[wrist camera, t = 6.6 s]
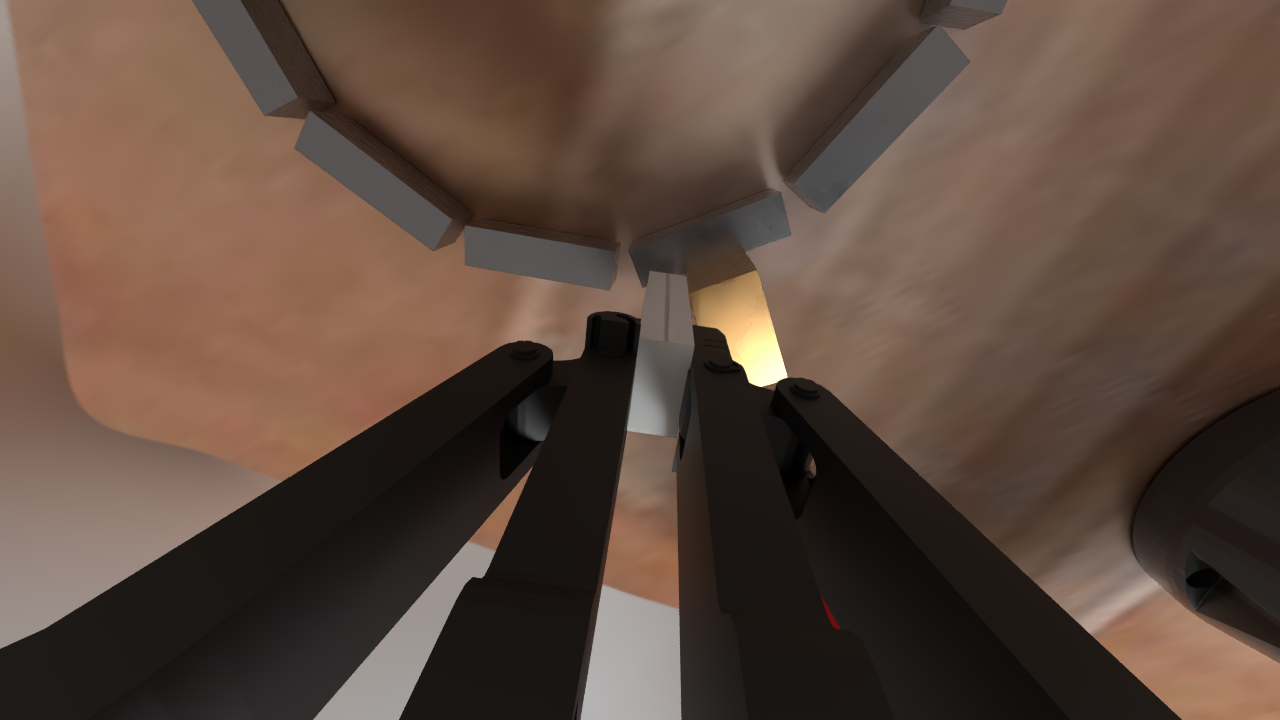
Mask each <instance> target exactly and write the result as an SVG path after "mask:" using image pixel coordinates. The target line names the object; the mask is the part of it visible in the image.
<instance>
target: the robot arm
mask: <svg viewBox="0 0 1280 720" xmlns="http://www.w3.org/2000/svg"><path fill="white" fill-rule="evenodd" d="M678 428H679V429H680V432H679V437H678V442H677V447H676V452H675V457H674V462H673V467H672V472H676V470H677V513H678V564H679V613H680V614H679V615H680V664H681V665H680V666H681V713H682V714H681V716H682V720H1182V719H1181V718H1180V717H1178V716H1177V715H1176V714H1175V713H1174V712H1173V711H1172V710H1171V709H1170V708H1169V707H1168V706H1167V705H1166V704H1164V703H1163V702H1162V701H1161V700H1160V699H1159V698H1158V697H1157V696H1156V695H1155V694H1154V693H1153V692H1152V691H1151V690H1149V689H1148V688H1147V687H1146V686H1145V685H1144V684H1143V683H1142V682H1141V681H1140V680H1139V679H1138V678H1137V677H1136V676H1134V675H1133V674H1132V673H1131V672H1130V671H1129V670H1128V669H1127V668H1126V667H1125V666H1124V665H1123V664H1122V663H1120V662H1119V661H1118V660H1117V659H1116V658H1115V657H1114V656H1113V655H1112V654H1111V653H1110V652H1109V651H1108V650H1107V649H1105V648H1104V647H1103V646H1102V645H1101V644H1100V643H1099V642H1098V641H1097V640H1096V639H1095V638H1094V637H1093V636H1092V635H1090V634H1089V633H1088V632H1087V631H1086V630H1085V629H1084V628H1083V627H1082V626H1081V625H1080V624H1079V623H1078V622H1076V621H1075V620H1074V619H1073V618H1072V617H1071V616H1070V615H1069V614H1068V613H1067V612H1066V611H1065V610H1064V609H1063V608H1061V607H1060V606H1059V605H1058V604H1057V603H1056V602H1055V601H1054V600H1053V599H1052V598H1051V597H1050V596H1049V595H1047V594H1046V593H1045V592H1044V591H1043V590H1042V589H1041V588H1040V587H1039V586H1038V585H1037V584H1036V583H1035V582H1034V581H1032V580H1031V579H1030V578H1029V577H1028V576H1027V575H1026V574H1025V573H1024V572H1023V571H1022V570H1021V569H1020V568H1019V567H1017V566H1016V565H1015V564H1014V563H1013V562H1012V561H1011V560H1010V559H1009V558H1008V557H1007V556H1006V555H1005V554H1003V553H1002V552H1001V551H1000V550H999V549H998V548H997V547H996V546H995V545H994V544H993V543H992V542H991V541H990V540H988V539H987V538H986V537H985V536H984V535H983V534H982V533H981V532H980V531H979V530H978V529H977V528H976V527H975V526H973V525H972V524H971V523H970V522H969V521H968V520H967V519H966V518H965V517H964V516H963V515H962V514H961V513H959V512H958V511H957V510H956V509H955V508H954V507H953V506H952V505H951V504H950V503H949V502H948V501H947V500H946V499H944V498H943V497H942V496H941V495H940V494H939V493H938V492H937V491H936V490H935V489H934V488H933V487H932V486H931V485H929V484H928V483H927V482H926V481H925V480H924V479H923V478H922V477H921V476H920V475H919V474H918V473H917V472H915V471H914V470H913V469H912V468H911V467H910V466H909V465H908V464H907V463H906V462H905V461H904V460H903V459H902V458H900V457H899V456H898V455H897V454H896V453H895V452H894V451H893V450H892V449H891V448H890V447H889V446H888V445H887V444H885V443H884V442H883V441H882V440H881V439H880V438H879V437H878V436H877V435H876V434H875V433H874V432H873V431H871V430H870V429H869V428H868V427H867V426H866V425H865V424H864V423H863V422H862V421H861V420H860V419H859V418H858V417H856V416H855V415H854V414H853V413H852V412H851V411H850V410H849V409H848V408H847V407H846V406H845V405H844V404H842V403H841V402H840V401H839V400H838V399H837V398H836V397H835V396H834V395H833V394H832V393H831V392H830V391H828V390H827V389H825V388H824V387H823V386H821V385H818V384H816V383H815V382H814V381H812V380H808V379H807V380H806V379H805V378H792V377H791V378H783V379H781V380H779V381H778V382H777V385H776V388H775V391H772V390H769V389H766V388H762V387H759V386H757V385H754V384H752V383H749V380H748V377H747V374H746V371H745V369H744V368H743V367H742V365H740V364H739V363H737V362H736V361H733V360H732V357H731V354H730V350H729V347H728V344H727V340H726V336H725V335H724V334H723V333H722V332H721V331H720V330H718V329H717V328H711V327H704V326H697V325H692V319H691V310H690V302H689V293H688V285H687V276H683V275H676V274H669V273H662V272H655V271H650V272H649V278H648V284H647V289H646V295H645V301H644V306H643V312H642V318H641V319H639V318H635V317H633V316H630V315H628V314H624V313H619V312H610V311H605V312H596V313H593V314H591V315H589V316H588V317H587V329H586V341H585V349H584V351H583V354H582V356H581V358H579V359H574V360H565V361H553V352H552V350H551V349H550V348H548V347H547V346H545V345H542V344H539V343H534V342H532V341H525V342H524V341H517V342H513V343H508V344H505V345H503V346H501V347H499V348H497V349H496V350H494V351H492V352H491V353H489V354H488V355H486V356H484V357H483V358H481V359H480V360H478V361H476V362H475V363H473V364H471V365H470V366H468V367H467V368H465V369H463V370H462V371H460V372H459V373H457V374H455V375H454V376H452V377H450V378H449V379H447V380H446V381H444V382H442V383H441V384H439V385H438V386H436V387H434V388H433V389H431V390H429V391H428V392H426V393H425V394H423V395H421V396H420V397H418V398H417V399H415V400H413V401H412V402H410V403H409V404H407V405H405V406H404V407H402V408H400V409H399V410H397V411H396V412H394V413H392V414H391V415H389V416H388V417H386V418H384V419H383V420H381V421H379V422H378V423H376V424H375V425H373V426H371V427H370V428H368V429H367V430H365V431H363V432H362V433H360V434H358V435H357V436H355V437H354V438H352V439H350V440H349V441H347V442H346V443H344V444H342V445H341V446H339V447H338V448H336V449H334V450H333V451H331V452H329V453H328V454H326V455H325V456H323V457H321V458H320V459H318V460H317V461H315V462H313V463H312V464H310V465H308V466H307V467H305V468H304V469H302V470H300V471H299V472H297V473H296V474H294V475H292V476H291V477H289V478H287V479H286V480H284V481H283V482H281V483H279V484H278V485H276V486H275V487H273V488H271V489H270V490H268V491H267V492H265V493H263V494H262V495H260V496H258V497H257V498H255V499H254V500H252V501H251V502H249V503H247V504H246V505H244V506H243V507H241V508H239V509H237V510H236V511H234V512H233V513H231V514H229V515H228V516H227V517H225V518H223V519H221V520H220V521H218V522H216V523H215V524H213V525H212V526H210V527H209V528H207V529H205V530H204V531H202V532H200V533H199V534H197V535H196V536H194V537H192V538H191V539H189V540H188V541H186V542H184V543H183V544H181V545H179V546H178V547H176V548H174V549H173V550H171V551H170V552H168V553H166V554H165V555H163V556H162V557H160V558H159V559H157V560H155V561H154V562H152V563H150V564H149V565H147V566H145V567H144V568H142V569H141V570H139V571H137V572H136V573H134V574H133V575H131V576H129V577H128V578H126V579H124V580H123V581H121V582H120V583H118V584H117V585H115V586H113V587H112V588H110V589H109V590H107V591H105V592H104V593H102V594H100V595H99V596H97V597H95V598H94V599H92V600H91V601H89V602H88V603H86V604H84V605H83V606H81V607H79V608H78V609H76V610H74V611H73V612H71V613H70V614H68V615H66V616H65V617H63V618H62V619H60V620H58V621H57V622H55V623H53V624H52V625H50V626H49V627H47V628H45V629H43V630H41V631H39V632H37V633H35V634H32V635H30V636H28V637H26V638H23V639H21V640H19V641H17V642H15V643H12V644H10V645H8V646H6V647H4V648H1V649H0V720H313V719H314V718H315V717H316V716H317V714H318V713H319V712H320V711H321V710H322V709H323V707H324V706H325V705H326V704H327V703H328V702H329V701H330V699H331V698H332V697H333V696H334V695H335V694H336V692H337V691H338V690H339V689H340V688H341V687H342V686H343V684H344V683H345V682H346V681H347V680H348V679H349V677H350V676H351V675H352V674H353V673H354V672H355V671H356V669H357V668H358V667H359V666H360V665H361V664H362V663H363V661H364V660H365V659H366V658H367V657H368V656H369V654H370V653H371V652H372V651H373V650H374V649H375V647H376V646H377V645H378V644H379V643H380V642H381V641H382V639H383V638H384V637H385V636H386V635H387V634H388V633H389V631H390V630H391V629H392V628H393V627H394V625H395V624H396V623H397V622H398V621H399V620H400V618H401V617H402V616H403V615H404V614H405V613H406V612H407V611H408V609H409V608H410V607H411V606H412V605H413V604H414V603H415V601H416V600H417V599H418V598H419V597H420V596H421V594H422V593H423V592H424V591H425V590H426V589H427V588H428V586H429V585H430V584H431V583H432V582H433V581H434V579H435V578H436V577H437V576H438V575H439V574H440V572H441V571H442V570H443V569H444V568H445V567H446V566H447V564H448V563H449V562H450V561H451V560H452V559H453V557H454V556H455V555H456V554H457V553H458V552H459V551H460V549H461V548H462V547H463V546H464V545H465V544H466V543H467V541H468V540H469V539H470V538H471V537H472V536H473V535H474V533H475V532H476V531H477V530H478V529H479V528H480V526H481V525H482V524H483V523H484V522H485V521H486V520H487V518H488V517H489V516H490V515H491V514H492V513H493V511H494V510H495V509H496V508H497V507H498V506H499V505H500V503H501V502H502V501H503V500H504V499H505V498H506V496H507V495H508V494H509V493H510V492H511V491H512V490H513V488H514V487H515V486H516V485H517V484H518V483H519V481H520V480H521V479H522V478H523V477H524V476H525V475H526V473H527V472H528V471H529V470H530V469H531V468H532V466H533V468H532V470H531V472H530V475H529V477H528V479H527V481H526V484H525V486H524V488H523V490H522V493H521V495H520V497H519V500H518V502H517V504H516V506H515V509H514V511H513V513H512V516H511V518H510V520H509V522H508V525H507V527H506V529H505V532H504V534H503V536H502V538H501V541H500V543H499V545H498V548H497V550H496V552H495V554H494V557H493V559H492V562H491V564H490V566H489V568H488V570H487V572H486V574H485V576H484V577H483V578H475V577H472V578H471V579H470V580H469V581H468V582H467V583H466V584H465V586H464V587H463V589H462V591H461V593H460V594H459V596H458V598H457V600H456V602H455V604H454V606H453V608H452V610H451V612H450V614H449V616H448V619H447V621H446V623H445V625H444V627H443V629H442V631H441V633H440V635H439V637H438V639H437V641H436V644H435V646H434V648H433V650H432V652H431V654H430V656H429V658H428V661H427V662H426V664H425V667H424V669H423V671H422V673H421V675H420V677H419V679H418V681H417V683H416V685H415V687H414V690H413V692H412V694H411V696H410V698H409V700H408V702H407V704H406V706H405V708H404V711H403V713H402V715H401V717H400V719H399V720H580V719H581V712H582V706H583V699H584V694H585V687H586V681H587V675H588V668H589V663H590V656H591V650H592V644H593V638H594V631H595V625H596V619H597V612H598V607H599V601H600V595H601V588H602V582H603V576H604V570H605V564H606V558H607V551H608V545H609V539H610V533H611V527H612V520H613V514H614V508H615V502H616V496H617V490H618V483H619V477H620V471H621V465H622V459H623V452H624V446H625V440H626V433H627V431H632V432H639V433H646V434H652V435H660V436H667V437H674V438H677V433H678ZM812 459H814V461H815V465H816V477H815V476H814V475H813V474H812V472H811V471H810V470H809V467H810V465H811V462H812ZM1133 546H1134V550H1135V554H1136V556H1137V559H1138V561H1139V562H1140V564H1141V566H1142V567H1143V569H1144V570H1145V571H1146V572H1147V573H1148V574H1149V575H1150V576H1151V577H1152V578H1153V579H1154V580H1155V581H1156V582H1157V583H1158V584H1160V585H1161V586H1162V587H1163V588H1164V589H1165V590H1166V591H1167V592H1169V593H1170V594H1171V595H1172V596H1173V597H1174V598H1175V599H1176V600H1178V601H1179V602H1180V603H1181V604H1182V605H1183V606H1184V607H1186V608H1187V609H1188V610H1189V611H1191V612H1192V613H1193V614H1195V615H1196V616H1198V617H1199V618H1201V619H1202V620H1204V621H1205V622H1207V623H1209V624H1210V625H1212V626H1214V627H1216V628H1217V629H1219V630H1221V631H1223V632H1225V633H1226V634H1228V635H1230V636H1232V637H1234V638H1235V639H1237V640H1239V641H1241V642H1243V643H1244V644H1246V645H1248V646H1250V647H1251V648H1253V649H1255V650H1257V651H1259V652H1260V653H1262V654H1264V655H1266V656H1268V657H1269V658H1271V659H1273V660H1275V661H1277V662H1278V663H1280V390H1277V391H1275V392H1273V393H1271V394H1268V395H1266V396H1264V397H1262V398H1260V399H1258V400H1256V401H1254V402H1252V403H1250V404H1248V405H1246V406H1244V407H1242V408H1240V409H1239V410H1237V411H1235V412H1233V413H1232V414H1230V415H1228V416H1227V417H1225V418H1223V419H1222V420H1220V421H1219V422H1217V423H1216V424H1214V425H1213V426H1211V427H1210V428H1208V429H1207V430H1206V431H1204V432H1203V433H1202V434H1200V435H1199V436H1197V437H1196V438H1195V439H1194V440H1192V441H1191V442H1190V443H1189V444H1188V445H1186V446H1185V447H1184V448H1183V449H1182V450H1181V451H1180V452H1179V453H1178V454H1177V455H1175V456H1174V458H1173V459H1172V460H1171V461H1170V462H1169V463H1168V464H1167V465H1166V466H1165V467H1164V468H1163V469H1162V471H1161V472H1160V473H1159V474H1158V475H1157V477H1156V478H1155V479H1154V481H1153V482H1152V484H1151V485H1150V487H1149V488H1148V490H1147V491H1146V493H1145V495H1144V497H1143V499H1142V500H1141V503H1140V505H1139V507H1138V510H1137V513H1136V516H1135V520H1134V524H1133ZM820 594H821V595H820ZM821 596H822V598H823V600H824V601H825V603H826V605H827V606H828V608H829V610H830V612H831V613H832V615H833V617H834V618H835V620H836V622H837V623H838V625H839V627H840V629H836V628H834V627H833V626H832V624H831V622H830V620H829V618H828V615H827V612H826V609H825V607H824V604H823V601H822V598H821Z"/></svg>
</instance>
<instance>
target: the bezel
mask: <svg viewBox="0 0 1280 720" xmlns="http://www.w3.org/2000/svg"><path fill="white" fill-rule="evenodd" d="M192 1H193V2H194V4H195V6H196V7H197V9H198V10H199V12H200V14H201V15H202V17H203V18H204V20H205V22H206V23H207V25H208V26H209V28H210V30H211V31H212V33H213V34H214V36H215V38H216V39H217V41H218V42H219V44H220V46H221V47H222V49H223V50H224V52H225V54H226V55H227V57H228V58H229V60H230V62H231V63H232V65H233V66H234V68H235V70H236V71H237V73H238V74H239V76H240V78H241V79H242V81H243V82H244V84H245V86H246V87H247V89H248V90H249V92H250V93H251V95H252V97H253V98H254V100H255V101H256V103H257V105H258V106H259V108H260V109H261V111H262V113H263V114H264V116H275V117H287V118H298V119H306V120H305V123H304V125H303V128H302V130H301V133H300V135H299V138H298V140H297V142H296V145H295V147H294V149H296V150H297V151H299V152H300V153H301V154H303V155H304V156H305V157H307V158H308V159H309V160H311V161H312V162H313V163H315V164H316V165H317V166H319V167H320V168H321V169H323V170H324V171H326V172H327V173H328V174H330V175H331V176H332V177H334V178H335V179H336V180H338V181H339V182H340V183H342V184H343V185H344V186H346V187H347V188H348V189H350V190H351V191H353V192H354V193H355V194H357V195H358V196H359V197H361V198H362V199H363V200H365V201H366V202H367V203H369V204H370V205H371V206H373V207H374V208H375V209H377V210H378V211H380V212H381V213H382V214H384V215H385V216H386V217H388V218H389V219H390V220H392V221H393V222H394V223H396V224H397V225H398V226H400V227H401V228H402V229H404V230H405V231H407V232H408V233H409V234H411V235H412V236H413V237H415V238H416V239H417V240H419V241H420V242H421V243H423V244H424V245H425V246H427V247H428V248H429V249H431V250H432V251H435V250H437V249H440V248H442V247H445V246H447V245H450V244H452V243H455V242H456V240H457V238H458V237H459V235H460V233H461V232H462V230H463V228H464V227H465V265H467V266H472V267H478V268H484V269H489V270H495V271H501V272H507V273H512V274H518V275H524V276H530V277H535V278H541V279H547V280H553V281H558V282H564V283H570V284H576V285H581V286H587V287H593V288H598V289H604V290H610V289H611V287H612V285H613V283H614V281H615V279H616V273H617V266H618V259H619V252H620V244H621V242H616V241H610V240H605V239H599V238H593V237H588V236H582V235H576V234H570V233H565V232H559V231H553V230H547V229H542V228H536V227H530V226H524V225H519V224H513V223H507V222H501V221H496V220H490V219H481V220H478V221H476V222H473V223H470V224H467V222H468V220H469V219H470V217H471V215H472V214H473V213H472V212H470V211H469V210H468V209H467V208H465V207H464V206H463V205H461V204H460V203H459V202H458V201H456V200H455V199H454V198H452V197H451V196H450V195H449V194H447V193H446V192H445V191H443V190H442V189H441V188H440V187H438V186H437V185H436V184H434V183H433V182H432V181H431V180H429V179H428V178H427V177H425V176H424V175H423V174H422V173H420V172H419V171H418V170H416V169H415V168H414V167H413V166H411V165H410V164H409V163H407V162H406V161H405V160H404V159H402V158H401V157H400V156H398V155H397V154H396V153H395V152H393V151H392V150H391V149H389V148H388V147H387V146H386V145H384V144H383V143H382V142H380V141H379V140H378V139H377V138H375V137H374V136H373V135H371V134H370V133H369V132H368V131H366V130H365V129H364V128H362V127H361V126H360V125H359V124H357V123H356V122H355V121H353V120H352V119H351V118H350V117H348V116H347V115H345V114H336V113H327V112H319V111H321V110H323V109H325V108H327V107H329V106H330V105H332V104H334V103H336V102H335V101H334V99H333V97H332V95H331V93H330V92H329V90H328V88H327V86H326V85H325V83H324V81H323V79H322V78H321V76H320V74H319V72H318V70H317V69H316V67H315V65H314V63H313V62H312V60H311V58H310V56H309V55H308V53H307V51H306V49H305V48H304V46H303V44H302V42H301V40H300V39H299V37H298V35H297V33H296V32H295V30H294V28H293V26H292V25H291V23H290V21H289V19H288V17H287V16H286V14H285V12H284V10H283V9H282V7H281V5H280V3H279V2H278V0H192ZM1006 1H1007V0H926V1H925V4H924V7H923V10H922V13H921V16H920V19H919V22H921V23H927V24H933V25H936V26H934V27H932V28H930V29H927V30H925V31H923V32H921V33H919V34H917V35H915V36H913V37H911V38H909V39H908V40H907V41H906V42H905V43H904V44H903V46H902V47H901V48H900V49H899V50H898V51H897V52H896V53H895V55H894V56H893V57H892V58H891V59H890V60H889V61H888V62H887V64H886V65H885V66H884V67H883V68H882V69H881V70H880V71H879V72H878V74H877V75H876V76H875V77H874V78H873V79H872V80H871V81H870V83H869V84H868V85H867V86H866V87H865V88H864V89H863V90H862V92H861V93H860V94H859V95H858V96H857V97H856V98H855V99H854V101H853V102H852V103H851V104H850V105H849V106H848V107H847V108H846V110H845V111H844V112H843V113H842V114H841V115H840V116H839V117H838V118H837V120H836V121H835V122H834V123H833V124H832V125H831V126H830V127H829V129H828V130H827V131H826V132H825V133H824V134H823V135H822V136H821V138H820V139H819V140H818V141H817V142H816V143H815V144H814V145H813V147H812V148H811V149H810V150H809V151H808V152H807V153H806V154H805V155H804V157H803V158H802V159H801V160H800V161H799V162H798V163H797V164H796V166H795V167H794V168H793V169H792V170H791V171H790V172H789V173H788V175H787V176H786V177H785V178H784V179H783V180H782V181H783V182H784V183H785V184H786V185H787V186H788V187H789V188H790V189H791V190H792V191H793V192H795V193H796V194H797V195H798V196H799V197H800V198H801V199H802V200H803V201H804V202H805V203H806V204H807V205H808V206H809V207H811V208H813V209H815V210H818V211H820V212H823V213H825V212H826V211H827V210H828V209H829V208H830V207H831V206H832V205H833V204H834V203H835V202H836V201H837V200H838V199H839V198H840V197H841V196H842V195H843V194H844V192H845V191H846V190H847V189H848V188H849V187H850V186H851V185H852V184H853V183H854V182H855V181H856V180H857V179H858V178H859V177H860V176H861V175H862V174H863V173H864V172H865V171H866V170H867V169H868V168H869V167H870V165H871V164H872V163H873V162H874V161H875V160H876V159H877V158H878V157H879V156H880V155H881V154H882V153H883V152H884V151H885V150H886V149H887V148H888V147H889V146H890V145H891V144H892V143H893V142H894V141H895V140H896V139H897V137H898V136H899V135H900V134H901V133H902V132H903V131H904V130H905V129H906V128H907V127H908V126H909V125H910V124H911V123H912V122H913V121H914V120H915V119H916V118H917V117H918V116H919V115H920V114H921V113H922V112H923V110H924V109H925V108H926V107H927V106H928V105H929V104H930V103H931V102H932V101H933V100H934V99H935V98H936V97H937V96H938V95H939V94H940V93H941V92H942V91H943V90H944V89H945V88H946V87H947V86H948V85H949V84H950V82H951V81H952V80H953V79H954V78H955V77H956V76H957V75H958V74H959V73H960V72H961V71H962V70H963V69H964V68H965V67H966V66H967V65H968V64H969V63H970V61H969V59H968V58H967V57H966V56H965V55H964V54H963V52H962V51H961V50H960V49H959V48H958V46H957V45H956V44H955V43H954V42H953V41H952V39H951V38H950V37H949V36H948V35H947V33H946V32H945V31H944V30H943V29H942V28H941V26H944V27H950V28H956V29H961V30H965V29H967V28H970V27H972V26H974V25H977V24H979V23H981V22H984V21H986V20H988V19H991V18H993V17H995V16H998V15H1000V14H1002V11H1003V9H1004V6H1005V4H1006ZM466 224H467V225H466ZM790 235H791V232H790V228H789V224H788V220H787V216H786V211H785V207H784V203H783V199H782V195H781V193H780V192H778V191H775V190H773V189H768V190H766V191H763V192H760V193H758V194H755V195H752V196H750V197H747V198H745V199H742V200H739V201H737V202H734V203H731V204H729V205H726V206H724V207H721V208H718V209H716V210H713V211H710V212H708V213H705V214H703V215H700V216H697V217H695V218H692V219H689V220H687V221H684V222H682V223H679V224H676V225H674V226H671V227H668V228H666V229H663V230H661V231H658V232H655V233H653V234H650V235H647V236H645V237H642V238H640V239H637V240H634V241H632V243H631V246H630V248H629V250H628V251H629V254H630V256H631V259H632V261H633V264H634V266H635V269H636V272H637V274H638V277H639V279H640V282H641V285H642V287H646V286H647V284H648V278H649V272H650V271H655V272H662V273H669V274H676V275H680V274H683V273H685V276H687V285H688V293H689V302H690V305H691V308H692V311H693V314H694V316H695V319H696V322H697V325H698V326H704V327H711V328H717V329H718V330H720V331H721V332H722V333H723V334H724V335H725V336H726V340H727V344H728V347H729V350H730V354H731V357H732V360H733V361H736V362H737V363H739V364H740V365H742V367H743V368H744V369H745V371H746V374H747V377H748V380H749V383H752V384H754V385H757V386H759V387H762V386H765V385H769V384H772V383H776V382H778V381H779V380H781V379H783V378H787V374H786V371H785V367H784V364H783V360H782V357H781V353H780V349H779V346H778V342H777V339H776V335H775V332H774V328H773V325H772V321H771V318H770V314H769V310H768V307H767V303H766V300H765V296H764V293H763V289H762V286H761V282H760V279H759V275H758V271H757V269H756V268H755V266H754V265H753V263H752V262H751V260H750V259H749V257H748V256H747V255H746V253H745V251H747V250H750V249H753V248H756V247H759V246H762V245H764V244H767V243H770V242H773V241H776V240H778V239H781V238H784V237H787V236H790Z"/></svg>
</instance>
